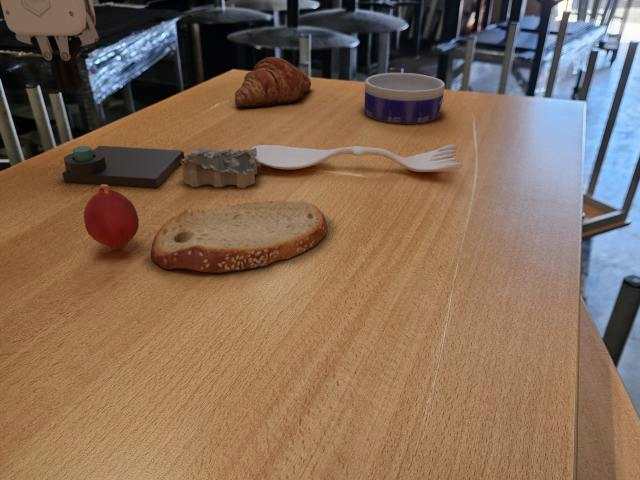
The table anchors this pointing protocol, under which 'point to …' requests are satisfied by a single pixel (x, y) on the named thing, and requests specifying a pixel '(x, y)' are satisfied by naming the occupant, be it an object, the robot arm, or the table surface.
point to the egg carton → (220, 167)
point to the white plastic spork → (307, 157)
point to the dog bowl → (403, 97)
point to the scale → (123, 166)
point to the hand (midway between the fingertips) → (70, 90)
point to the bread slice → (238, 236)
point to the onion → (111, 218)
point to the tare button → (83, 153)
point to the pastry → (272, 84)
